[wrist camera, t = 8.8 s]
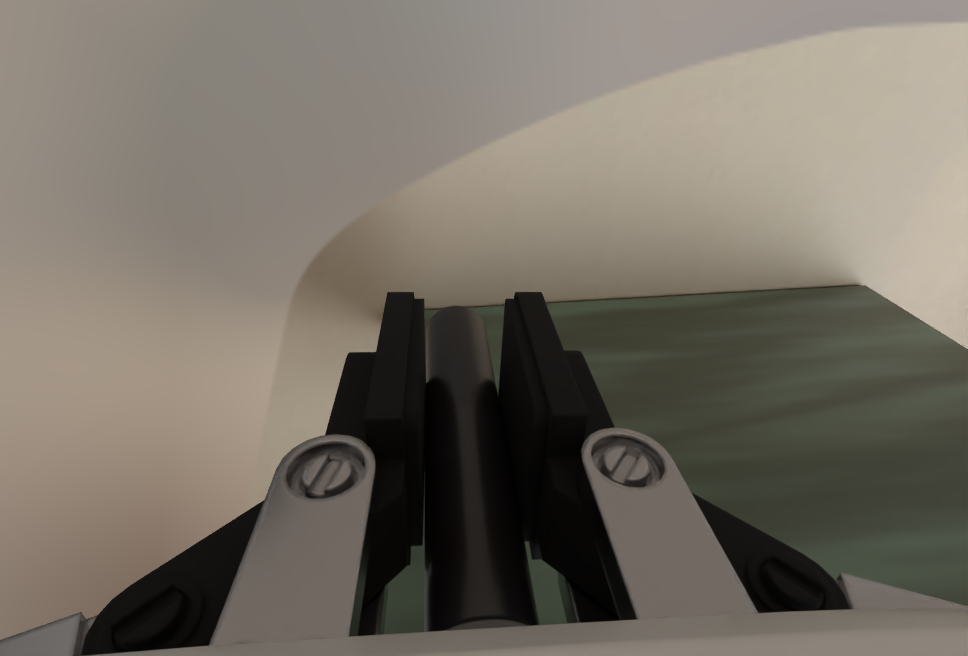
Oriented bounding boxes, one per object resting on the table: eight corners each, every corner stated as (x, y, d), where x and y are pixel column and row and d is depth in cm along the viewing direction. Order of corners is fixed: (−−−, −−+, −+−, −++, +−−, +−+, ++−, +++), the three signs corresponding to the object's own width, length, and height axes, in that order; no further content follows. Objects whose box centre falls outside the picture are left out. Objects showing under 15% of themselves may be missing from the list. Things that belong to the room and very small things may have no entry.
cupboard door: (377, 181, 23) (224, 682, 6) (920, 161, 25) (2009, 490, 8) (395, 327, 27) (337, 868, 10) (858, 300, 29) (1476, 712, 12)
